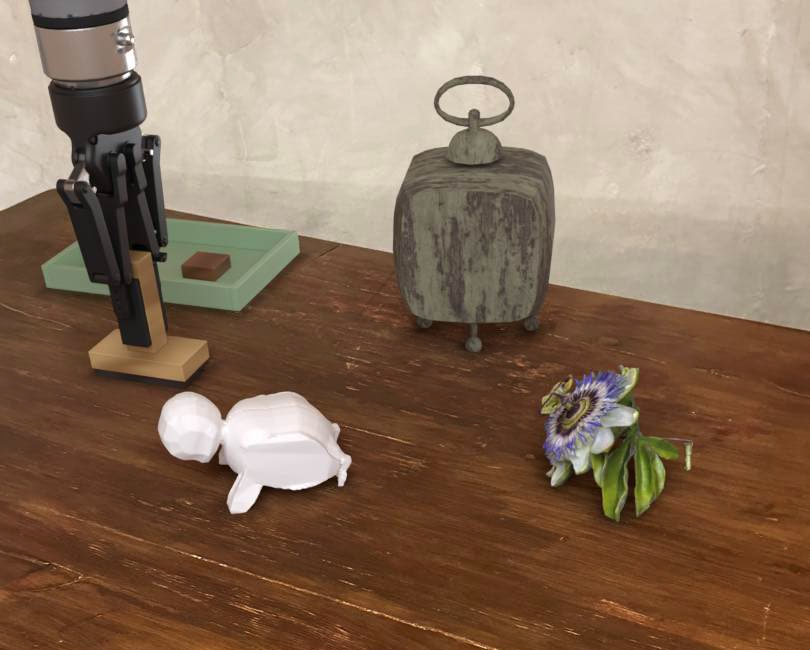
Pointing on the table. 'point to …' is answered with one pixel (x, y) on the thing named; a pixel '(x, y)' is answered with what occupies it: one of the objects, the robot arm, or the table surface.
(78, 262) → the tray
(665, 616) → the table surface
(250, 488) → the white turtle figurine
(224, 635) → the table surface
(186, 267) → the wood chip
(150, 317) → the brush
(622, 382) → the passion flower
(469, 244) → the tabletop clock
